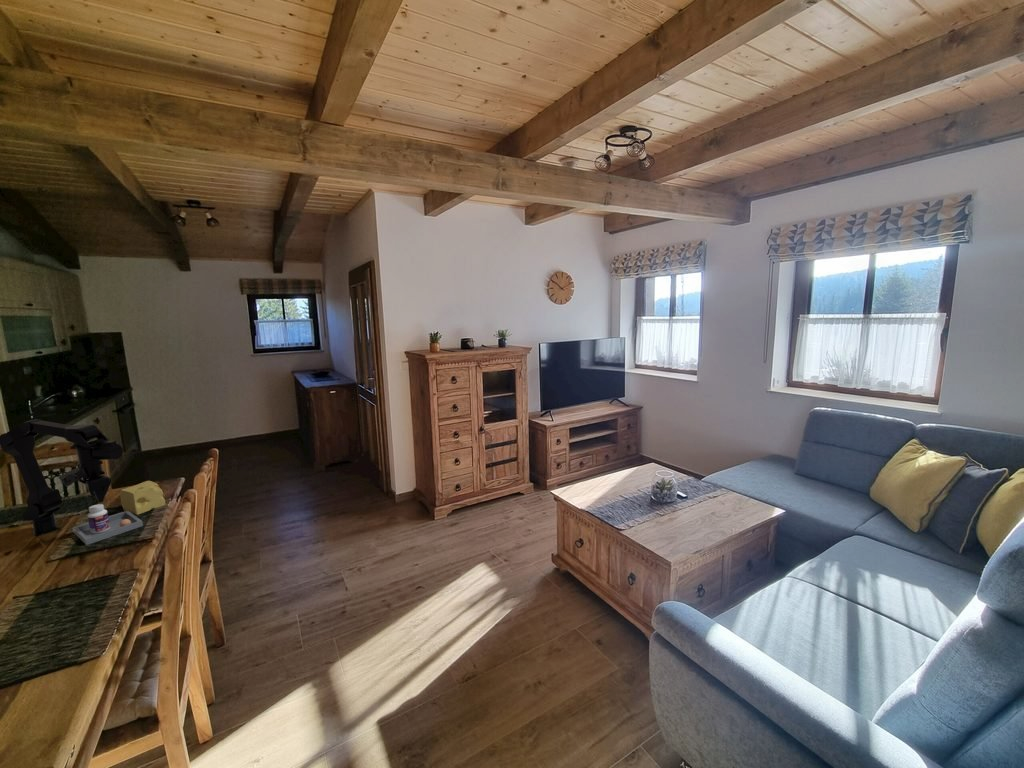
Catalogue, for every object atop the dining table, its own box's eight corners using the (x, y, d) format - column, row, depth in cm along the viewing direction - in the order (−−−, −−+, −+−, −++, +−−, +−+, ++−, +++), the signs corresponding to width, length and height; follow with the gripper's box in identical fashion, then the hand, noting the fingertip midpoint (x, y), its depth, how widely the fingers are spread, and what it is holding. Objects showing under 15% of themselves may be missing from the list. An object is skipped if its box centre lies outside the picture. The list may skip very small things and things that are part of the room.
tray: (73, 534, 161) (72, 527, 161) (128, 516, 174) (127, 510, 174) (86, 546, 152) (85, 539, 152) (143, 527, 165) (142, 520, 165)
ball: (119, 528, 164) (117, 520, 163) (129, 524, 166) (128, 516, 166) (122, 530, 162) (120, 522, 161) (132, 526, 165) (131, 518, 164)
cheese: (166, 505, 183) (162, 483, 182) (135, 517, 174) (131, 493, 172) (152, 501, 188) (148, 479, 186) (122, 512, 178) (117, 489, 176)
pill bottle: (98, 534, 159) (93, 510, 157) (86, 533, 160) (81, 509, 158) (114, 527, 164) (109, 503, 162) (102, 526, 165) (98, 502, 164)
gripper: (52, 461, 158) (60, 501, 161) (65, 471, 147) (73, 514, 150) (93, 452, 167) (101, 490, 170) (108, 462, 156) (115, 502, 159)
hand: (97, 499), depth 162 cm, fingers open, 9 cm apart
